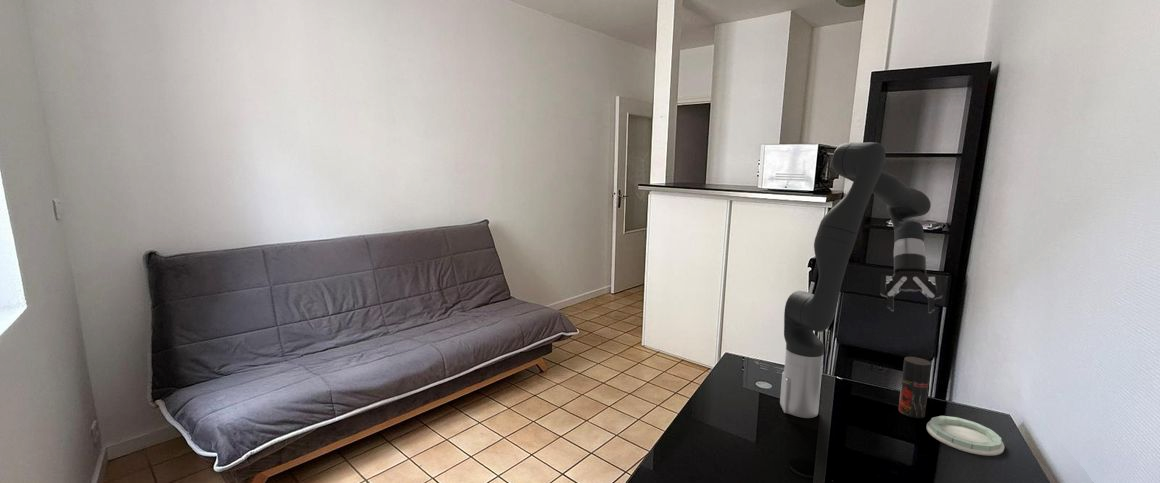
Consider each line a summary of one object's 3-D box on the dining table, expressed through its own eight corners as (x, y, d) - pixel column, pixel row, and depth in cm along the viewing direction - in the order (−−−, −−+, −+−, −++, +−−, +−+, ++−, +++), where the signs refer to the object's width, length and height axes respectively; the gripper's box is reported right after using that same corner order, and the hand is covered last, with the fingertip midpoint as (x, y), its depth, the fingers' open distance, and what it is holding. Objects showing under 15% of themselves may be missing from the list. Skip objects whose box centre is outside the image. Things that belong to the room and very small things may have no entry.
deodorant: (929, 419, 125) (935, 366, 122) (904, 416, 126) (910, 364, 124) (917, 408, 130) (924, 357, 128) (894, 406, 132) (900, 355, 129)
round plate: (945, 450, 110) (946, 442, 110) (915, 418, 125) (916, 411, 124) (1019, 459, 107) (1021, 451, 107) (980, 425, 122) (981, 418, 121)
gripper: (879, 252, 135) (879, 306, 130) (941, 252, 127) (944, 309, 121) (880, 261, 141) (881, 313, 135) (940, 261, 132) (943, 317, 127)
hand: (910, 311), depth 128 cm, fingers open, 8 cm apart
